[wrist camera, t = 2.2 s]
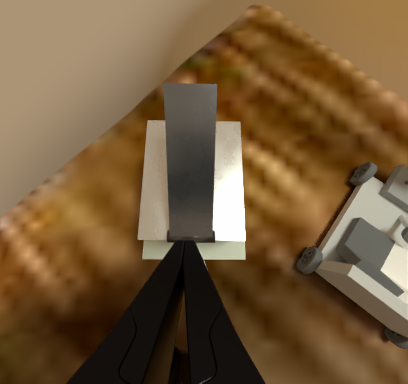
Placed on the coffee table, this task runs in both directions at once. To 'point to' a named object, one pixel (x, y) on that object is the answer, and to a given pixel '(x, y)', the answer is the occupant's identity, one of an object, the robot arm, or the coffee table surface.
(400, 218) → the toy car
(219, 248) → the board
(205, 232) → the strap
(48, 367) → the coffee table surface
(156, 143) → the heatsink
